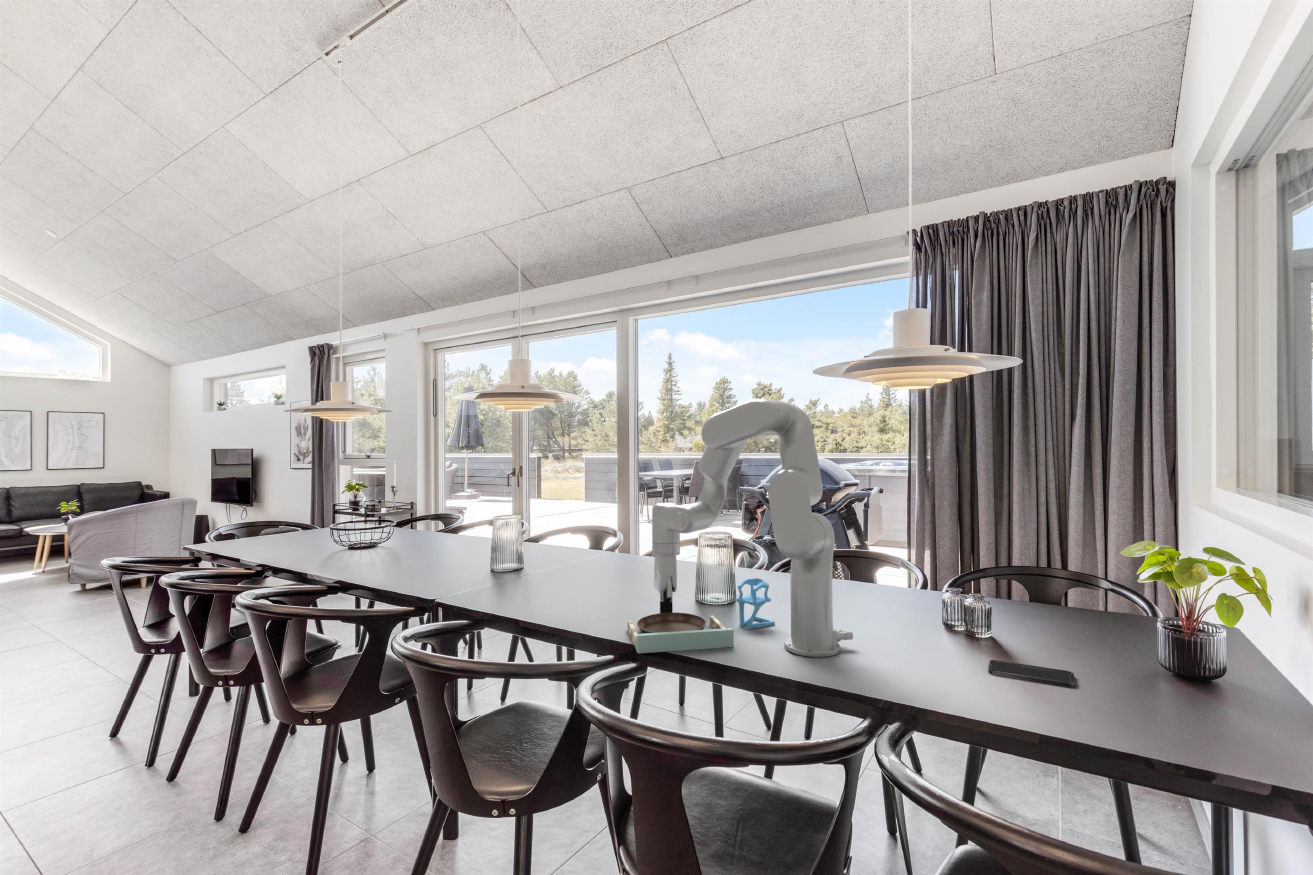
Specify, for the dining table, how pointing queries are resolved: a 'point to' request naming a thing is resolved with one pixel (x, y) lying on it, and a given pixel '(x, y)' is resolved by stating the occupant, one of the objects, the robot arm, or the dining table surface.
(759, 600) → the chair
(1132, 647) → the dining table surface
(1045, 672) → the phone
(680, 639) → the saucer dock
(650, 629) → the plant saucer
